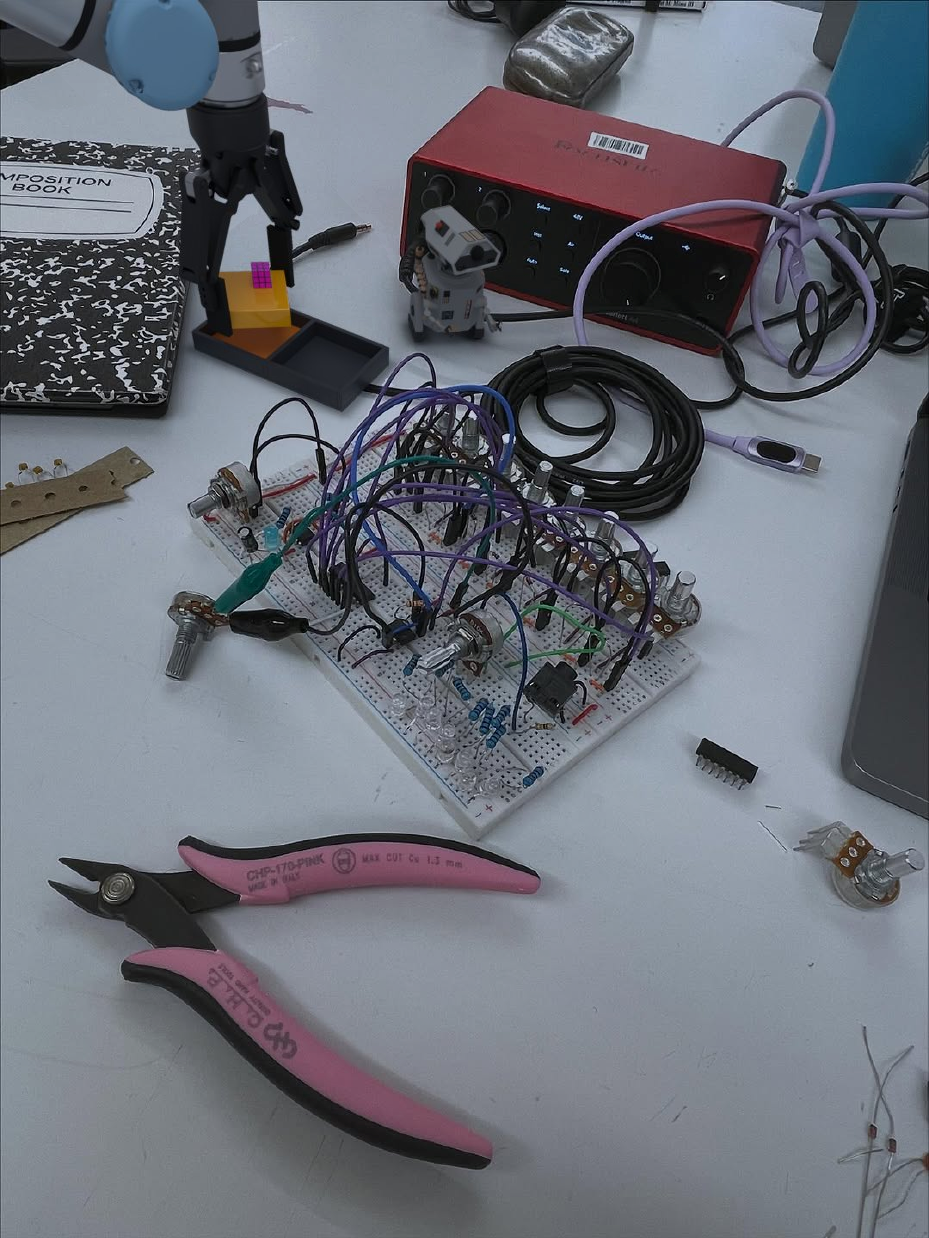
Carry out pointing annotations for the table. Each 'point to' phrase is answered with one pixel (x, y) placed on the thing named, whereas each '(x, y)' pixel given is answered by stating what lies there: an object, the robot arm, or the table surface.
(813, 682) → the table surface
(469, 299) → the figurine
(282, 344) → the divided tray
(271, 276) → the orange box
